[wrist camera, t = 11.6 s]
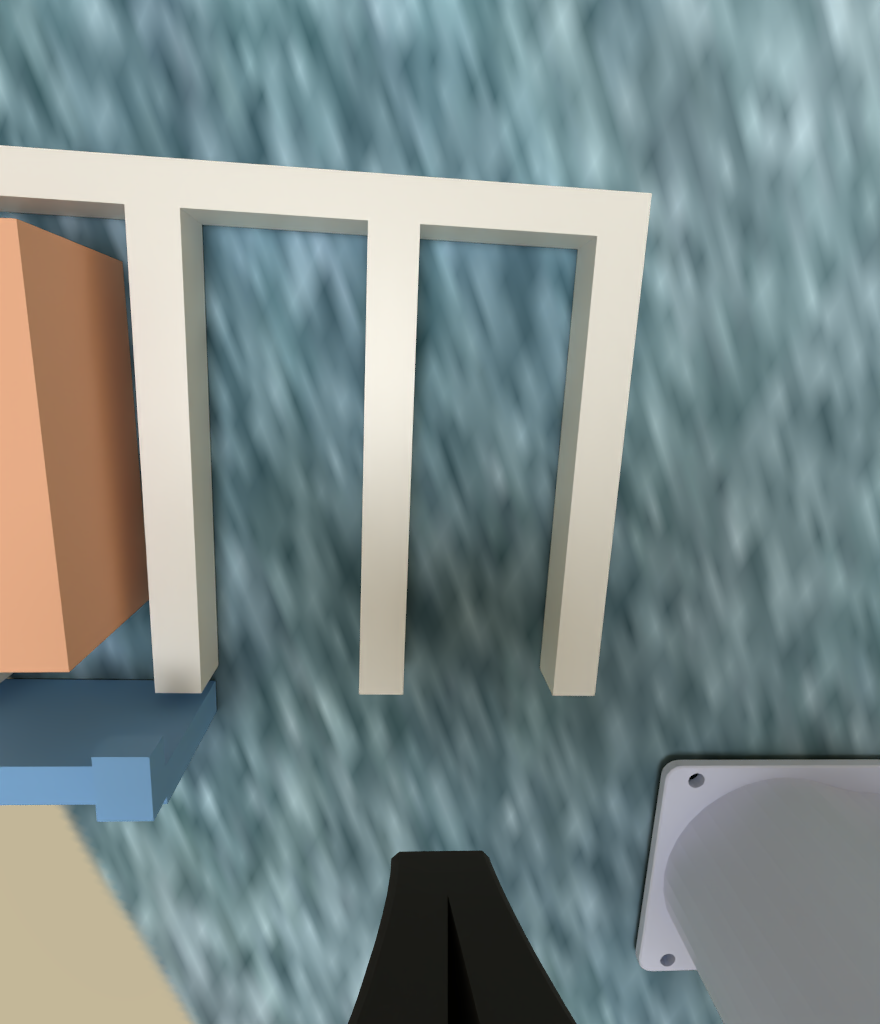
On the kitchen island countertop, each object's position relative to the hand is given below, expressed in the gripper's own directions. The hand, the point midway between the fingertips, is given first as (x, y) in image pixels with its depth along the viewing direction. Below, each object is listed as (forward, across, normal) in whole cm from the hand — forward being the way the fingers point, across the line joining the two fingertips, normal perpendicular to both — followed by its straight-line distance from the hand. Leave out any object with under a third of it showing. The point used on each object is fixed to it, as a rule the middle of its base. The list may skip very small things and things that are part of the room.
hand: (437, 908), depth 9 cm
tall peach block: (+10, +9, -6) cm, 14 cm away
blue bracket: (+9, +9, +2) cm, 13 cm away
